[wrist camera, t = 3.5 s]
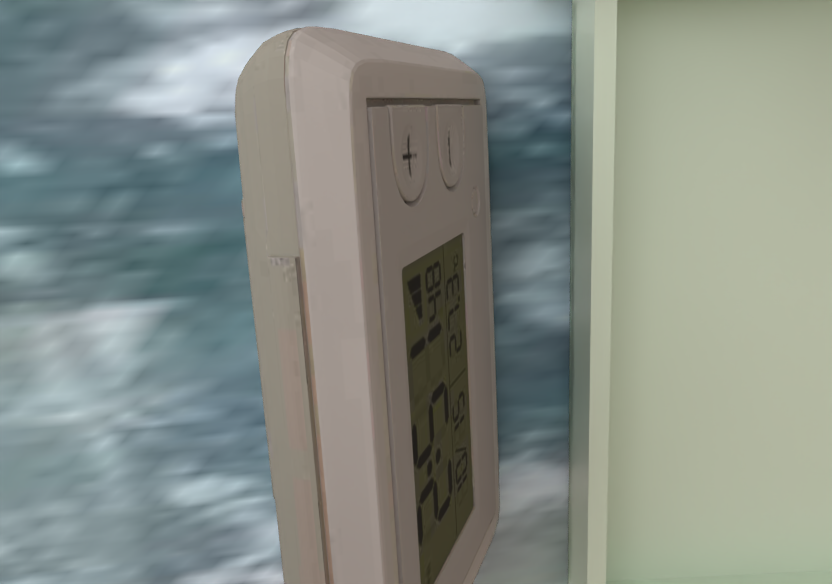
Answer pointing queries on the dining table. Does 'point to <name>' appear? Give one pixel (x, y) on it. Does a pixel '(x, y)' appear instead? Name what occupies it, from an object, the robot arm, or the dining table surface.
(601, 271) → the tray
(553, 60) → the dining table surface
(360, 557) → the digital clock
